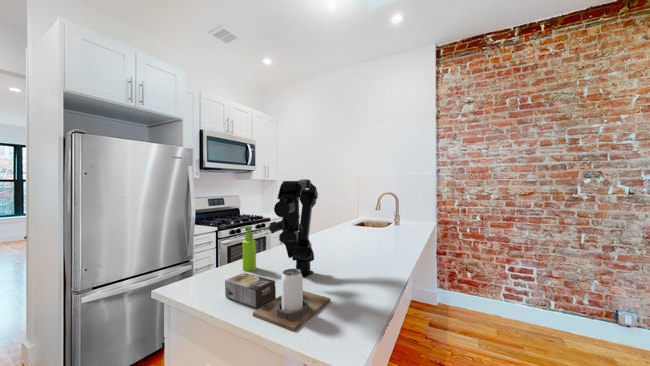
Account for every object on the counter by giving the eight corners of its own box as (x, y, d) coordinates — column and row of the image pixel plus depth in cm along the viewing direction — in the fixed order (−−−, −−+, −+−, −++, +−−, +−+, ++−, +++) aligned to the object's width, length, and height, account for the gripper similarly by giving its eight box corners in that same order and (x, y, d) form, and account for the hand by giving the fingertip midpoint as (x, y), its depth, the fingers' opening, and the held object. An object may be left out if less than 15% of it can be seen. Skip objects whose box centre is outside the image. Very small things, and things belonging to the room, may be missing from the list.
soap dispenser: (242, 267, 122) (241, 225, 121) (257, 266, 122) (256, 225, 122) (239, 271, 116) (238, 227, 116) (254, 270, 116) (254, 227, 116)
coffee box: (244, 271, 98) (276, 279, 89) (244, 288, 98) (276, 297, 90) (224, 279, 90) (256, 289, 82) (224, 297, 90) (257, 309, 82)
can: (290, 318, 75) (289, 277, 74) (277, 310, 79) (277, 271, 79) (307, 310, 79) (306, 271, 79) (294, 302, 84) (293, 266, 84)
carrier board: (293, 290, 95) (293, 281, 95) (330, 301, 87) (330, 291, 87) (252, 315, 78) (252, 304, 78) (293, 331, 70) (293, 319, 70)
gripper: (275, 210, 107) (276, 247, 107) (264, 217, 88) (264, 262, 88) (302, 210, 107) (302, 247, 107) (296, 217, 88) (296, 262, 88)
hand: (292, 254), depth 98 cm, fingers open, 9 cm apart
